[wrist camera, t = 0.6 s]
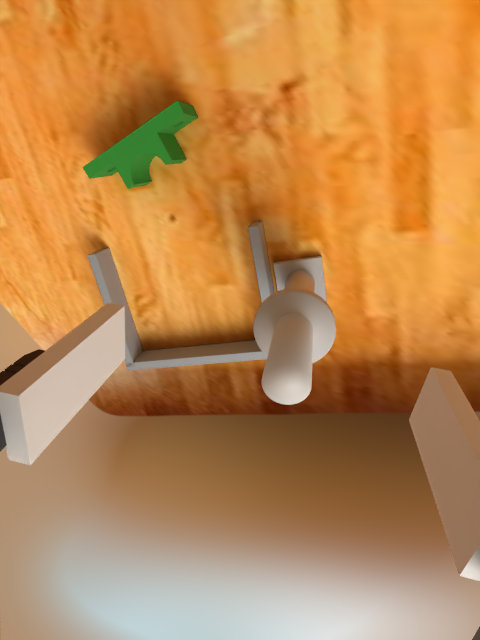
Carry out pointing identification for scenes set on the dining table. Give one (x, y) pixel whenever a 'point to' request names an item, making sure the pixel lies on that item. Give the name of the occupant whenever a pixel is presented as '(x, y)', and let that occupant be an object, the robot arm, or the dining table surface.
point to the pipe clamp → (145, 147)
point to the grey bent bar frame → (269, 325)
